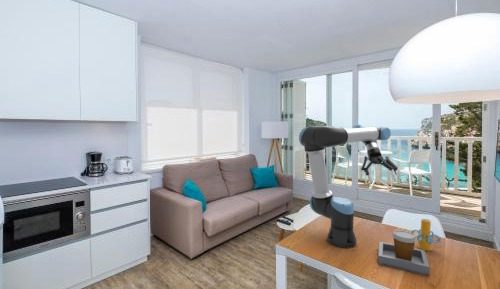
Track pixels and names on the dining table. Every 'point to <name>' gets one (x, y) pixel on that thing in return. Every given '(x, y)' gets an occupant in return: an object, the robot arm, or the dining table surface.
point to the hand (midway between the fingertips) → (383, 179)
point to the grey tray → (415, 265)
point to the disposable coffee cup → (404, 244)
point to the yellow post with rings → (425, 236)
